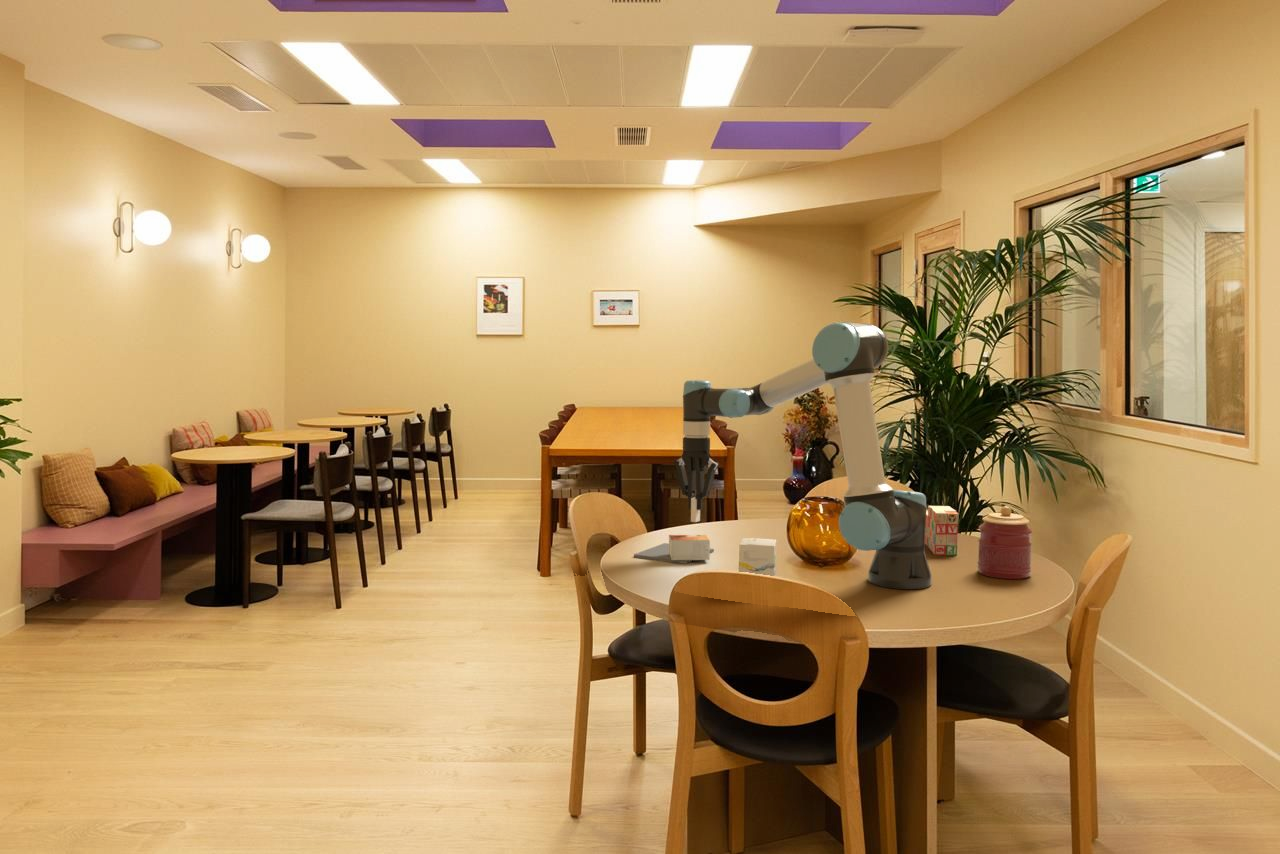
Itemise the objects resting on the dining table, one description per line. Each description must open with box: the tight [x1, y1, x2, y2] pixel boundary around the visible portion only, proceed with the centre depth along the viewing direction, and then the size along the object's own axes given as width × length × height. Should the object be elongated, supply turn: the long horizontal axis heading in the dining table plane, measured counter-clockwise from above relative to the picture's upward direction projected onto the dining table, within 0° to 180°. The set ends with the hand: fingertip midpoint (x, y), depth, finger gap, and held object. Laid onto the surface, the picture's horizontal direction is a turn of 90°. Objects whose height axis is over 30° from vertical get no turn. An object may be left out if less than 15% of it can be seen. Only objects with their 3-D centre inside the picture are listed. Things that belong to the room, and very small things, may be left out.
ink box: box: [738, 537, 777, 576], centre depth 225 cm, size 8×8×12 cm
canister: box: [976, 505, 1034, 580], centre depth 241 cm, size 13×13×18 cm
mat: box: [633, 542, 715, 564], centre depth 263 cm, size 16×18×1 cm
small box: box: [668, 534, 711, 561], centre depth 256 cm, size 8×6×10 cm
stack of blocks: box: [925, 505, 960, 556], centre depth 274 cm, size 21×6×12 cm, turn 173°
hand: (695, 521), depth 259 cm, fingers closed
